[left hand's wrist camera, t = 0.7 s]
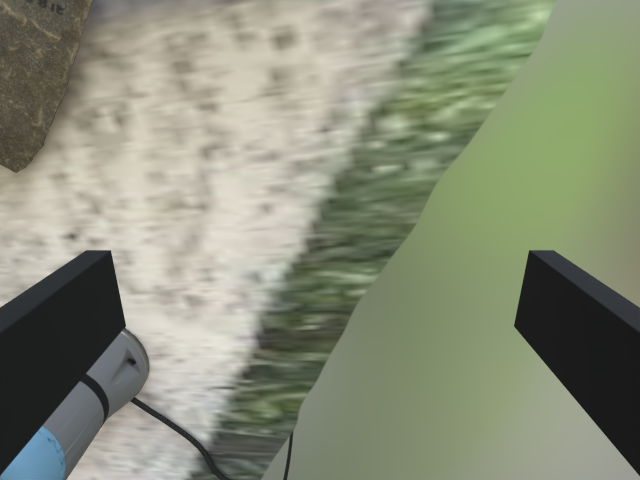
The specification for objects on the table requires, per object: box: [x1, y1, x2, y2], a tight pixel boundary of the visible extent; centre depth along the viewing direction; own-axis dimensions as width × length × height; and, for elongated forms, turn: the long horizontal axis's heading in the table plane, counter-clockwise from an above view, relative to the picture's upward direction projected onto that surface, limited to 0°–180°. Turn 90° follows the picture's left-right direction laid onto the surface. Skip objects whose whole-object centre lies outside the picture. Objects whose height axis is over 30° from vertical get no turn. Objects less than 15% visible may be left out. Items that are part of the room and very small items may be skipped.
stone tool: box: [0, 0, 93, 173], centre depth 45 cm, size 11×3×25 cm
